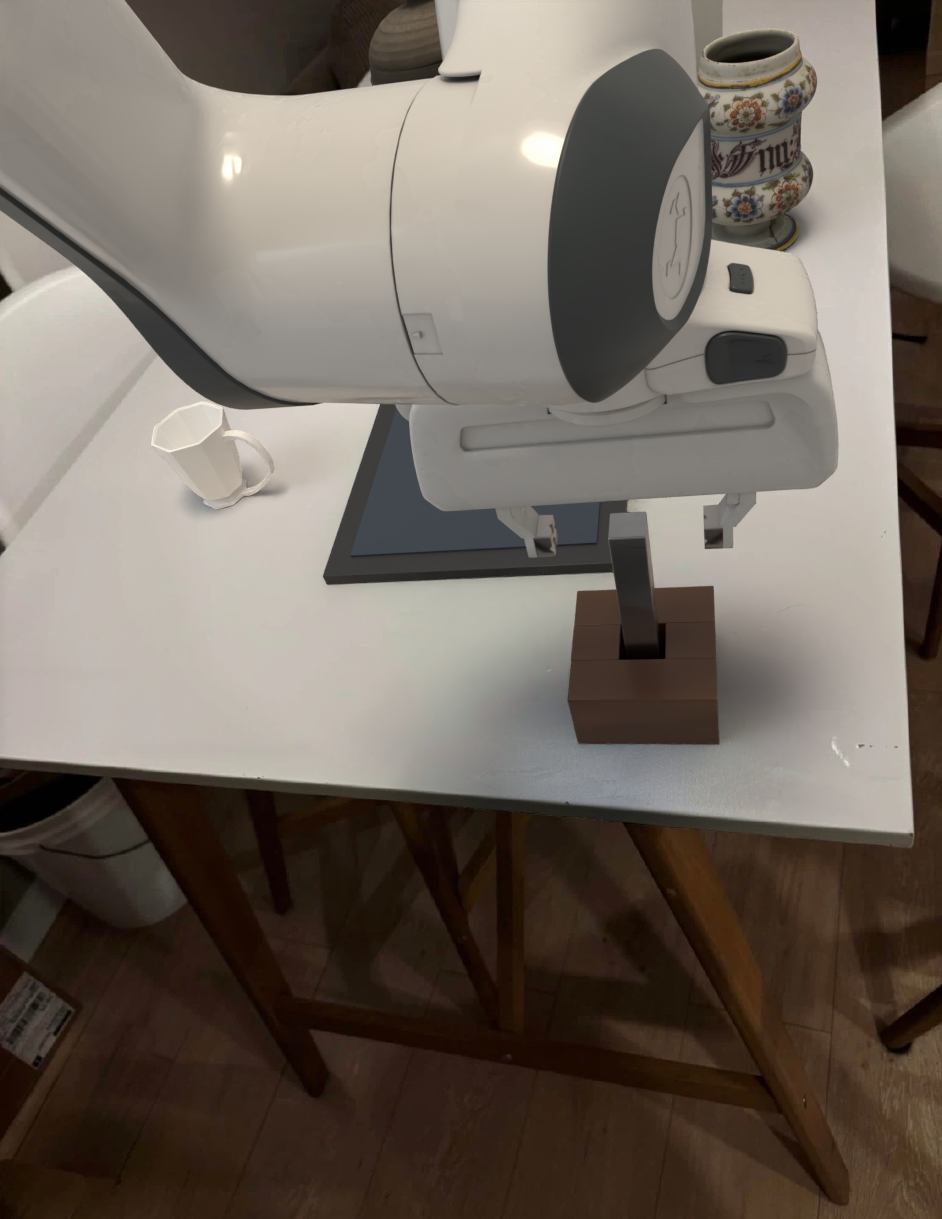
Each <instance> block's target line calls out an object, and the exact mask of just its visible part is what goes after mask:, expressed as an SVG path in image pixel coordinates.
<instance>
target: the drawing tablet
mask: <svg viewBox="0 0 942 1219" xmlns="http://www.w3.org/2000/svg"><path fill="white" fill-rule="evenodd" d="M531 507H532V508H533V509H534V510H535V511H536V512H537V513H538V514H539V515H553V516H554V521H555V529H556V531H557V546H556V547H555V548H556V555H555V556H552V557H535V558H529V556H528V552H527V548H526V544H525V540H524V538H521V537H519V536H518V535H517V534H516V533H515V532H513V531H512V530H511V529H510V528H509V527H507V526H506V525H505V524H504V523H503V522H501V521H500V520H499V519H498V517H497V513H496V510H495V508H492V509H477V510H462V511H442V510H440V509H438V508H437V507H435V506H434V505H432V504H431V503H430V502H428V501H427V500H426V499H425V498H424V497H423V495H422V492H421V489H420V486H419V482H418V478H417V474H416V469H415V465H414V460H413V454H412V447H411V438H410V426H409V421H408V420H406V419H405V418H404V417H403V416H402V415H401V414H400V413H399V411H398V410H397V408H396V405H395V404H379V406H378V409H377V412H376V415H375V418H374V421H373V424H372V427H371V430H370V433H369V436H368V439H367V442H366V445H365V448H364V451H363V454H362V457H361V460H360V463H359V466H358V469H357V472H356V475H355V478H354V480H353V484H352V486H351V489H350V493H349V496H348V499H347V501H346V504H345V508H344V511H343V514H342V517H341V520H340V523H339V525H338V529H337V532H336V535H335V538H334V540H333V544H332V547H331V550H330V553H329V556H328V559H327V562H326V565H325V568H324V571H323V574H322V578H323V580H324V582H325V584H326V585H339V584H341V585H342V584H363V583H366V584H367V583H386V582H406V581H407V582H408V581H411V582H413V581H430V580H431V581H432V580H433V581H434V580H452V579H453V580H454V579H475V578H476V579H479V578H499V577H500V578H502V577H522V576H545V575H547V576H548V575H565V574H566V575H567V574H568V575H569V574H571V575H572V574H590V573H595V574H596V573H613V567H612V560H611V554H610V547H609V541H608V534H609V519H610V514H611V513H626V512H628V500H619V501H604V502H588V503H572V504H556V505H540V506H531Z"/></svg>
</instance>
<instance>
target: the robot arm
mask: <svg viewBox="0 0 942 1219" xmlns="http://www.w3.org/2000/svg"><path fill="white" fill-rule="evenodd" d="M435 8H436V16H437V24H438V31H439V39H440V46H441V53H442V60H443V62H442V64H441V65H440V67H439V68H438V72H439V73H440V74H441V75H439V76H436V77H434V78H429V79H422V80H414V81H406V82H398V83H391V84H383V85H375V86H372V85H369V86H360V87H353V88H352V87H351V88H345V89H336V90H330V91H329V90H328V91H321V92H315V93H314V92H313V93H306V94H305V93H304V94H295V95H280V94H279V95H278V94H275V95H273V94H256V93H255V94H254V93H244V92H237V91H230V90H226V89H223V88H218V87H214V86H211V85H207V84H204V83H201V82H199V81H197V80H195V79H192V78H190V77H189V76H187V75H185V74H184V73H183V72H182V71H181V70H180V69H179V68H178V67H177V65H176V64H175V63H174V62H173V60H172V59H171V57H170V56H169V55H168V53H166V51H165V50H164V49H163V48H162V46H161V45H160V44H159V42H158V41H157V39H155V37H154V36H153V35H152V34H151V32H150V30H148V28H147V27H146V26H145V24H144V23H143V22H142V20H141V19H140V18H139V17H138V16H137V14H136V13H135V12H134V10H133V9H132V8H131V6H130V5H129V4H128V2H127V1H126V0H0V212H1V213H3V214H4V215H6V216H7V217H8V218H10V219H11V220H13V221H14V222H15V223H16V224H18V225H19V226H21V227H22V228H23V229H25V230H27V231H28V232H29V233H31V234H32V235H33V236H35V237H36V238H38V239H39V240H40V241H42V242H43V243H45V244H46V245H47V246H49V247H50V248H51V249H53V250H54V251H56V252H57V253H58V254H60V255H61V256H62V257H64V258H65V259H66V260H68V261H69V262H70V263H71V264H73V265H74V266H75V267H77V268H78V269H79V270H80V271H81V272H82V273H83V274H85V275H86V276H87V277H88V278H89V279H90V280H91V281H92V282H93V283H95V284H96V286H97V287H98V288H100V289H101V290H102V292H103V293H104V294H106V295H107V297H108V298H109V299H110V300H111V301H112V302H113V303H114V304H115V305H116V307H117V308H118V309H119V310H120V311H121V312H122V314H124V316H125V317H126V318H127V320H128V321H129V322H130V323H131V324H132V325H133V327H134V328H135V329H136V330H137V332H138V333H139V334H140V335H141V336H142V338H143V339H144V340H145V341H146V343H147V344H148V345H149V346H150V348H152V350H153V351H154V352H155V353H156V354H157V356H158V357H159V358H160V359H161V360H162V361H163V363H164V364H165V365H166V366H167V367H168V368H169V369H170V370H171V371H172V372H173V373H174V374H175V376H177V377H178V378H179V379H180V380H181V381H182V382H183V383H184V384H185V385H186V386H188V387H189V388H190V389H192V390H193V391H194V392H196V393H197V394H199V395H200V396H201V397H203V398H205V399H206V400H208V401H210V402H212V403H214V404H216V405H218V406H221V407H225V408H229V409H234V410H239V411H240V410H242V411H250V410H251V411H252V410H264V409H281V408H293V407H295V408H296V407H308V406H310V407H311V406H315V405H320V404H321V405H322V404H354V405H355V404H359V405H360V404H362V405H380V404H395V405H396V408H397V410H398V411H399V413H400V414H401V415H402V416H403V417H404V418H405V419H406V420H408V421H409V426H410V438H411V447H412V454H413V460H414V465H415V469H416V474H417V478H418V482H419V486H420V489H421V492H422V495H423V497H424V498H425V499H426V500H427V501H428V502H430V503H431V504H432V505H434V506H435V507H437V508H438V509H440V510H442V511H462V510H477V509H492V508H495V510H496V513H497V517H498V519H499V520H500V521H501V522H503V523H504V524H505V525H506V526H507V527H509V528H510V529H511V530H512V531H513V532H515V533H516V534H517V535H518V536H519V537H521V538H524V540H525V544H526V548H527V552H528V556H529V558H535V557H552V556H555V555H556V548H555V547H556V546H557V531H556V529H555V521H554V516H553V515H539V514H538V513H537V512H536V511H535V510H534V509H533V508H532V507H531V506H540V505H556V504H572V503H588V502H604V501H619V500H627V501H633V500H648V499H651V500H652V499H664V498H665V499H666V498H679V497H681V498H682V497H696V496H699V497H700V496H713V495H714V496H715V495H724V496H723V497H722V499H721V500H720V502H719V503H718V504H707V505H703V506H702V507H703V508H702V511H703V513H702V514H703V515H702V516H703V543H704V544H703V545H704V550H719V549H720V550H722V549H723V550H724V549H734V528H736V527H737V526H738V525H739V524H740V523H741V522H742V520H743V519H744V518H745V517H746V515H748V513H749V512H751V510H752V509H753V508H754V507H755V505H756V504H757V493H759V492H775V491H776V492H777V491H792V490H793V491H794V490H809V489H815V488H818V487H820V486H821V485H822V484H823V483H825V482H826V481H827V480H828V479H829V478H830V477H831V476H833V475H834V474H835V472H836V471H837V469H838V465H839V451H840V450H839V449H840V448H839V445H840V444H839V442H840V441H839V425H838V416H837V407H836V402H835V394H834V388H833V383H832V382H833V381H832V375H831V371H830V365H829V361H828V357H827V351H826V348H825V343H824V339H823V337H822V334H821V331H820V330H819V322H818V309H817V302H816V296H815V292H814V289H813V285H812V282H811V279H810V277H809V274H808V272H807V269H806V267H805V265H804V263H803V261H802V260H801V258H800V257H799V256H798V255H795V254H793V253H790V252H786V251H776V250H769V249H763V248H756V247H750V246H744V245H738V244H732V243H727V242H722V241H716V240H712V239H711V236H712V166H711V124H710V107H709V106H708V104H707V103H706V101H705V100H704V98H703V96H702V95H701V93H700V92H699V90H698V75H697V60H696V46H695V35H694V24H693V14H692V6H691V0H435Z"/></svg>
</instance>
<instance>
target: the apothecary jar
mask: <svg viewBox="0 0 942 1219" xmlns="http://www.w3.org/2000/svg"><path fill="white" fill-rule="evenodd" d="M700 64H701V66H700V68H699V72H698V73H697V75H698V90H699V92H700V93H701V95H702V96H703V98H704V100H705V101H706V103H707V104H708V106H709V107H710V124H711V166H712V236H711V239H712V240H716V241H722V242H727V243H732V244H738V245H744V246H750V247H756V248H763V249H769V250H776V251H782V252H784V250H786V249H788V248H789V247H791V245H792V244H793V243H794V242H795V241H796V240H797V238H798V236H799V233H800V227H799V224H798V222H797V221H796V219H795V218H794V217H792V216H791V215H789V214H788V213H789V212H790V211H792V210H793V209H794V208H795V207H797V206H798V205H799V204H800V203H801V202H802V201H803V200H804V199H805V198H806V197H807V195H808V193H809V192H810V190H811V188H812V185H813V180H814V169H813V165H812V163H811V160H810V159H809V157H808V156H807V155H806V153H804V152H803V151H802V137H801V136H802V116H803V111H804V110H805V109H806V108H807V107H808V106H809V105H810V103H811V102H812V101H813V98H814V96H815V94H816V93H817V89H818V88H817V87H818V77H817V72H816V70H815V68H814V67H813V65H812V63H811V62H810V61H809V60H807V58H805V57H803V54H802V51H801V44H800V38H799V36H798V34H797V33H795V32H794V31H792V30H789V29H786V28H778V27H762V28H753V29H746V30H740V31H736V32H733V33H729V34H726V35H723V37H720V38H718V39H716V40H714V41H713V42H711V43H709V44H708V45H707V46H706V47H705V48H704V49H703V51H702V54H701V61H700Z"/></svg>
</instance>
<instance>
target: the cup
mask: <svg viewBox="0 0 942 1219" xmlns="http://www.w3.org/2000/svg"><path fill="white" fill-rule="evenodd" d="M151 435H152V436H151V441H150V446H151V448H153V450H154V451H156V453H157V454H158V456H160V458H161V459H162V460H163V461H164V462H165V463H166V464H167V466H168V467H169V468H170V469H171V470H172V471H173V472H174V473H175V475H176V476H177V477H178V478H179V479H180V480H181V482H182V483H183V484H185V485H186V486H187V487H188V488H189V489H190V490H191V491H192V492H194V493H195V495H197V496H198V497H200V498H202V499H203V504H204V506H207V507H209V508H212V509H213V510H216V511H217V510H220V509H225V508H228V507H231V506H234V505H236V503H237V502H239V501H240V500H241V499H242V498H243V497H250V496H253V495H254V494H256V493H258V492H260V491H261V490H262V489H263V488H264V487H265V486H266V485H267V484H268V483H269V481H270V480H271V478H272V476H273V474H274V472H275V464H274V460H273V458H272V456H271V454H270V452H269V451H268V450H267V448H266V447H265V446H264V445H263V444H262V442H261V441H260V440H259V439H257V438H256V437H254V436H253V435H252V434H250V433H248V432H246V431H242V430H236V429H231V427H230V424H229V420H228V418H227V414H226V412H225V409H224V406H222V405H219V404H216V403H213V402H209V401H206V400H202V401H199V402H198V401H197V402H195V403H191V404H188V405H184V406H181V407H177V408H175V409H174V410H173V411H171V412H169V414H168V415H166V416H165V417H164V418H163V419H161V420H160V421H159V422H158V423H157V424H156V425H154V426H153V430H152V434H151ZM237 440H239V441H242V442H244V443H245V444H246V445H249V446H250V447H252V448H253V449H254V450H255V451H256V452H257V454H258V455H259V456H260V457H261V458H262V460H263V462H264V463H265V465H266V469H267V475H266V476H265V477H264V478H263V479H262V480H261V481H260V482H259V483H258V484H256V485H253V486H251V487H247V484H248V481H247V480H246V479H245V478H243V468H242V463H241V459H240V454H239V451H238V447H237V445H236V442H235V441H237Z"/></svg>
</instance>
